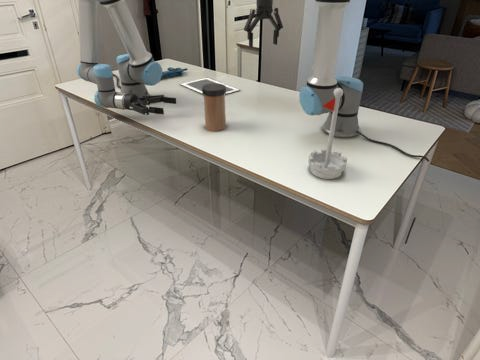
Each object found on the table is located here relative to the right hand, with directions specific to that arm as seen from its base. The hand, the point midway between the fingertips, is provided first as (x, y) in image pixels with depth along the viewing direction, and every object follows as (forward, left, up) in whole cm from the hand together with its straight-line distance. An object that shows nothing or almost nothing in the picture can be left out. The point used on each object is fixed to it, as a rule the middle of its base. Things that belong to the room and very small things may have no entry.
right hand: (263, 45), depth 167 cm
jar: (-22, +35, -28) cm, 50 cm away
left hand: (-9, +52, -20) cm, 56 cm away
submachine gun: (+70, +38, -28) cm, 84 cm away
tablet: (+32, +18, -28) cm, 46 cm away
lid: (-22, +35, -10) cm, 42 cm away
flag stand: (-74, +14, -28) cm, 80 cm away
